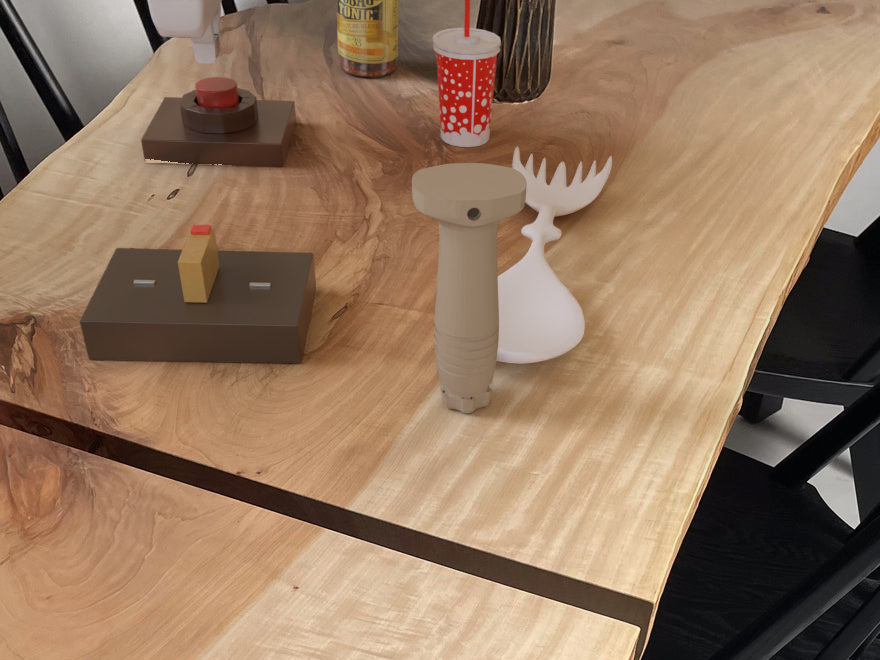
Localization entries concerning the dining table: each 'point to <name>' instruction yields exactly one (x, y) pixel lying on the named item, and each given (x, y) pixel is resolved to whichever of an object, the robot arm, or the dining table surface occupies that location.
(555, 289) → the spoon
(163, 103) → the block
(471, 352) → the handle
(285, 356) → the plate
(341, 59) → the brown tonic bottle
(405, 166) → the dining table surface
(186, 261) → the lock knob
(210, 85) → the bell button
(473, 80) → the beverage cup
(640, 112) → the dining table surface
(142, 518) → the dining table surface
